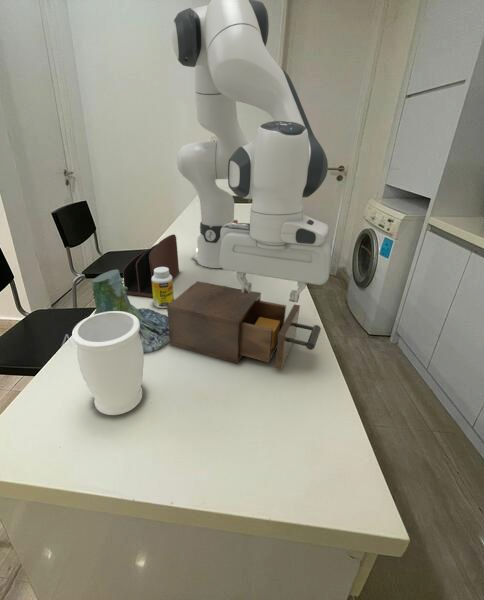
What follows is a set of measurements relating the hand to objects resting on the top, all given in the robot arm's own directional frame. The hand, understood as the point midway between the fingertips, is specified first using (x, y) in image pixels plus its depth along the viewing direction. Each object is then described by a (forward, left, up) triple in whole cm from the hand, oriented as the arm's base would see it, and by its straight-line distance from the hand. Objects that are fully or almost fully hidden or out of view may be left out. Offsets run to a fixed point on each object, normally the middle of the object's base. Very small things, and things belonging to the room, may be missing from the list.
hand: (269, 296), depth 64 cm
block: (0, 0, -11) cm, 11 cm away
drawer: (0, 0, -12) cm, 12 cm away
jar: (+25, -19, -13) cm, 34 cm away
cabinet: (0, -11, -13) cm, 17 cm away
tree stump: (+7, -30, -13) cm, 33 cm away
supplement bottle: (-9, -31, -13) cm, 35 cm away
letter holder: (-20, -42, -13) cm, 48 cm away
